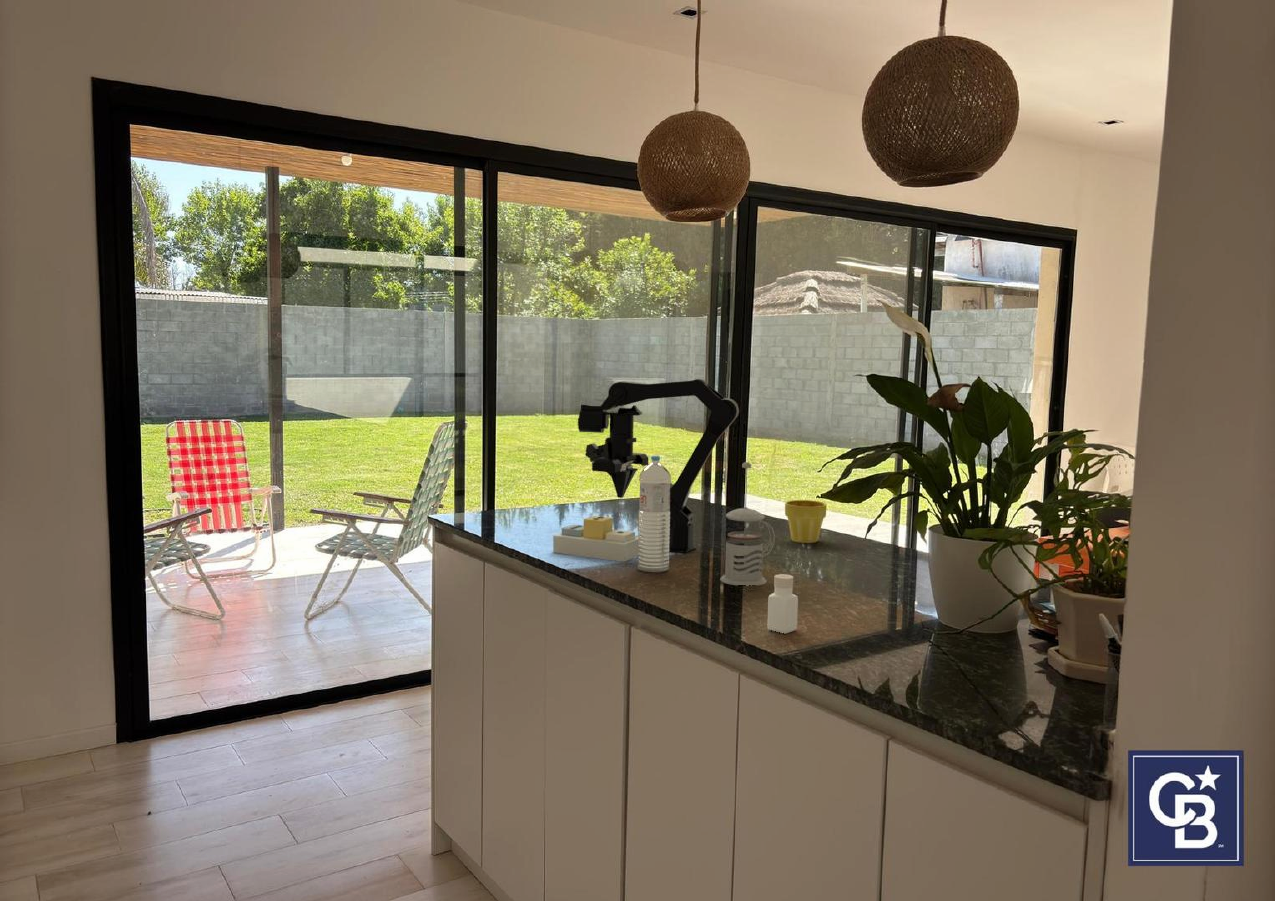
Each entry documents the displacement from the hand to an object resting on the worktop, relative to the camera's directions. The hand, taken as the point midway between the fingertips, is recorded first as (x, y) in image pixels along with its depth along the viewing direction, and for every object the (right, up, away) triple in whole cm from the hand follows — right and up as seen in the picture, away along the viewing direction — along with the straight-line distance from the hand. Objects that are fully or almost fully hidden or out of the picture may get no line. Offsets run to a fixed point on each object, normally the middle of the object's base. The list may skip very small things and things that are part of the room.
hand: (620, 497), depth 228 cm
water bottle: (+8, -15, -23) cm, 28 cm away
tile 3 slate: (-11, -12, -5) cm, 16 cm away
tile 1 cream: (0, -13, -10) cm, 16 cm away
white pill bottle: (+29, -20, -66) cm, 75 cm away
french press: (+27, -16, -31) cm, 44 cm away
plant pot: (+47, -12, +12) cm, 50 cm away
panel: (-5, -13, -7) cm, 16 cm away
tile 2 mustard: (-5, -9, -8) cm, 13 cm away
